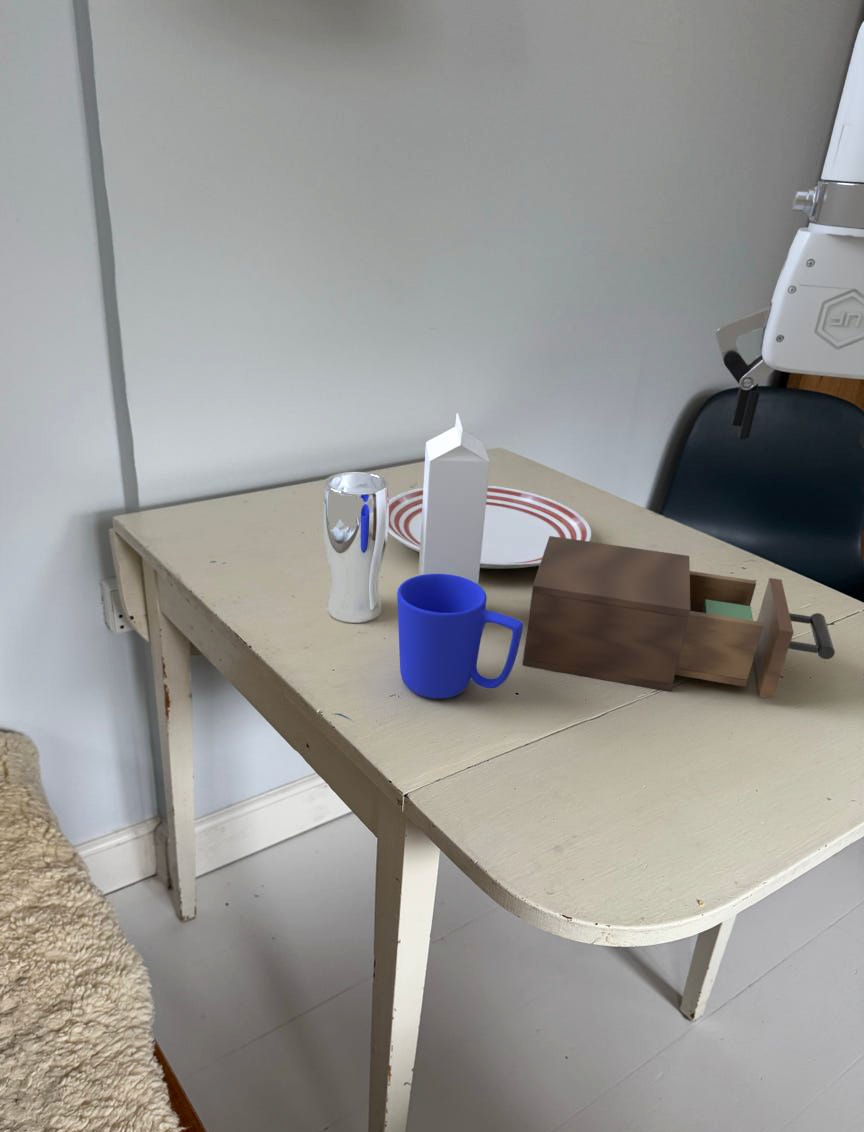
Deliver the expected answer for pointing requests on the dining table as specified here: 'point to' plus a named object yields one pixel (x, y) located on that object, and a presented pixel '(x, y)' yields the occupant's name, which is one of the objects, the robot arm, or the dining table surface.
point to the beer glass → (355, 543)
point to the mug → (446, 635)
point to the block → (727, 609)
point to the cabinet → (609, 612)
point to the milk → (453, 504)
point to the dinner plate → (499, 525)
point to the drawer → (743, 634)
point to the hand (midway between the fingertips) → (803, 441)
